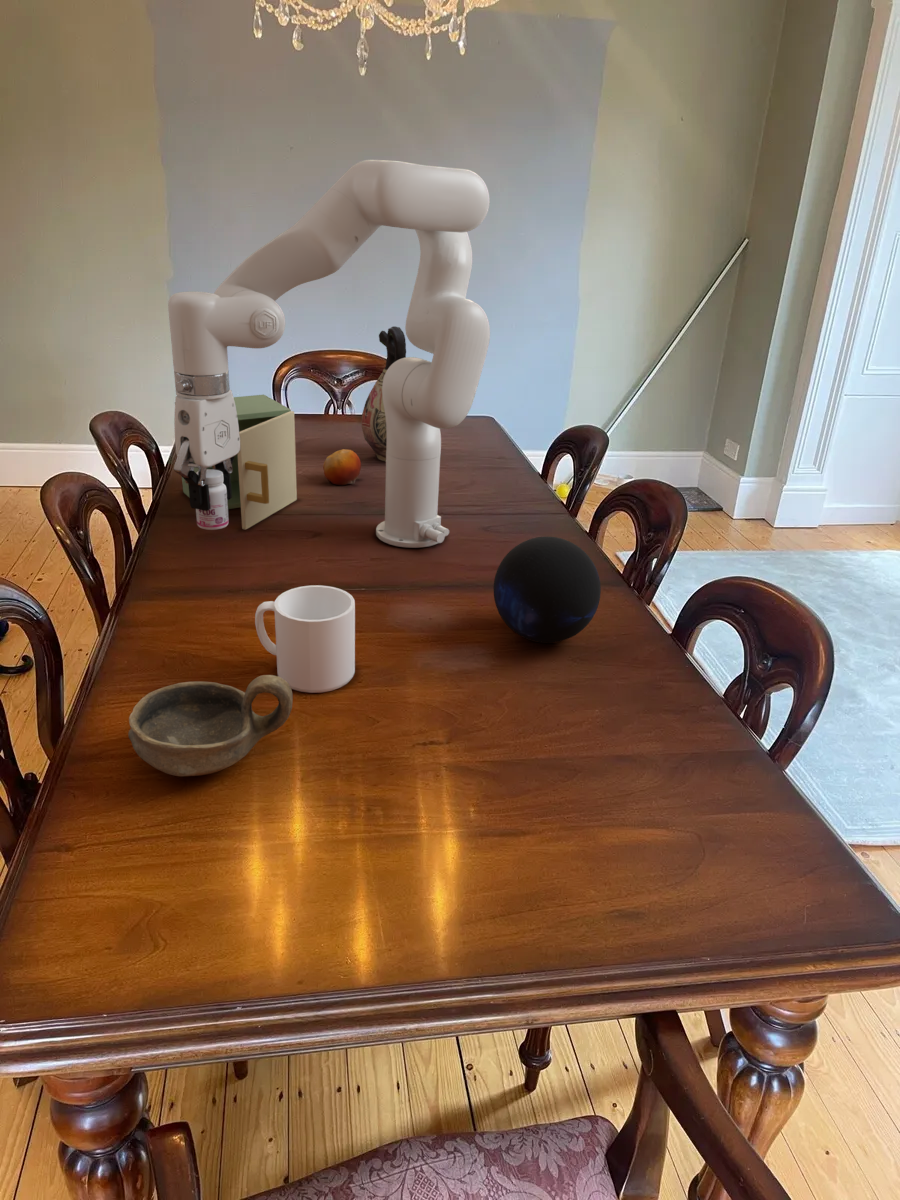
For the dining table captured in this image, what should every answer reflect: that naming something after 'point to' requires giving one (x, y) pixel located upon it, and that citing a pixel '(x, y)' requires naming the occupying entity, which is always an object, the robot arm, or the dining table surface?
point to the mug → (312, 637)
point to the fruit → (342, 467)
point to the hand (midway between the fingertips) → (211, 502)
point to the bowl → (204, 724)
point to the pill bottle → (214, 503)
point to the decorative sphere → (547, 589)
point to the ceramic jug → (374, 404)
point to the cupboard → (248, 415)
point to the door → (267, 468)
